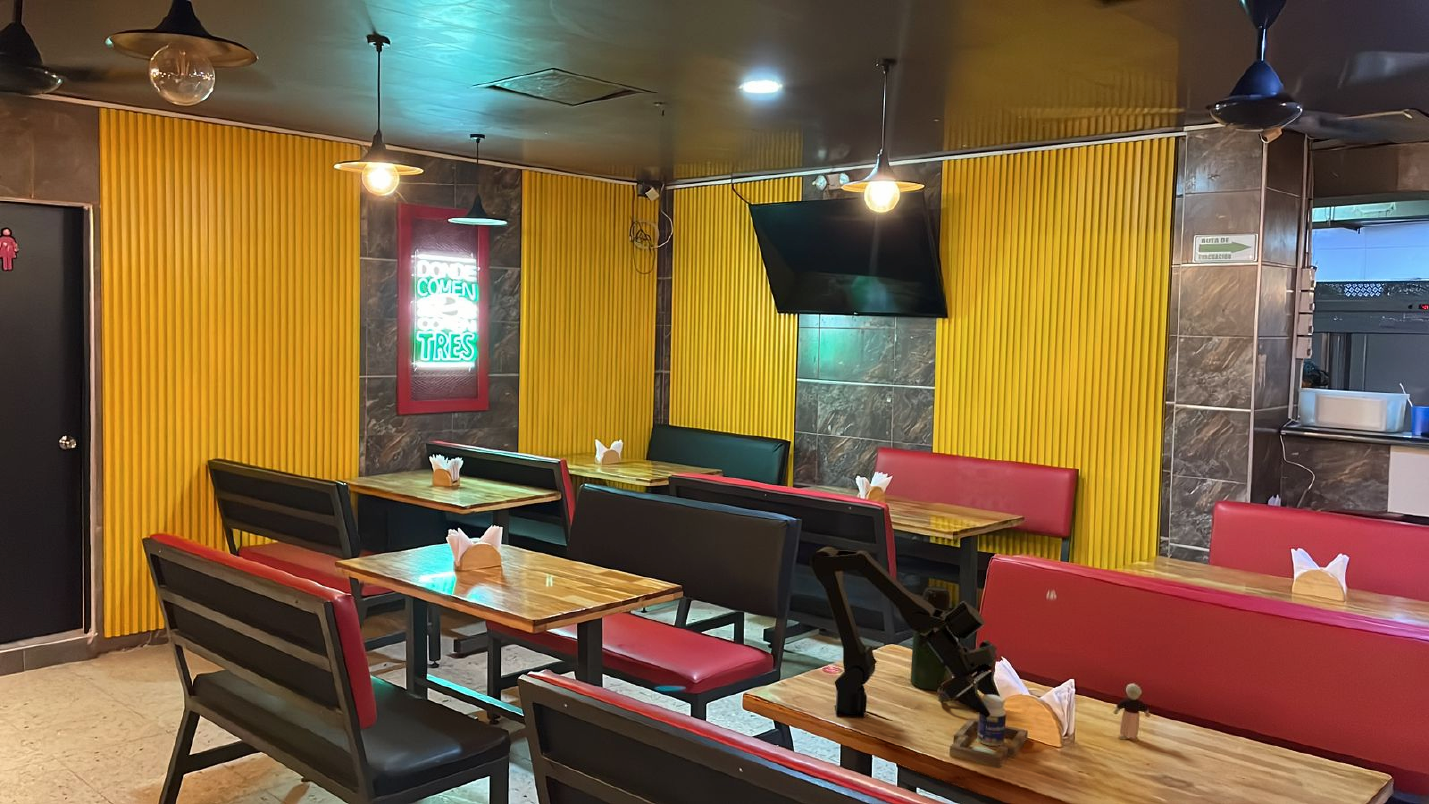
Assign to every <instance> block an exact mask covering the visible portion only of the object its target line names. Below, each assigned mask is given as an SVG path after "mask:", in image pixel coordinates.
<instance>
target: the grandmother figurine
mask: <svg viewBox="0 0 1429 804" xmlns="http://www.w3.org/2000/svg"><path fill="white" fill-rule="evenodd" d="M1125 690H1126V694H1127V697H1124V698H1123V699H1121V700H1120V701H1119V702H1118V703H1117V704H1116V707H1115V708H1114V710H1113V712H1112V713H1113V714H1114V715H1118V714H1119V712H1120V711H1121V710H1122V709H1123V712H1122V716H1121V720H1120V721H1121V722H1120V727H1119V734H1118V735H1117V739H1120V740H1127V739H1129V740H1130V741H1133V742H1139V741H1138V740H1139V737H1138V735H1139V729H1140V728H1139V727H1140V711H1141V712H1143V714H1144V716H1145V718H1150V717H1151V714H1150V711H1149V707H1148V705H1147V704H1146V703H1144V702H1143V701H1142V700H1140V699H1138V698H1139V697H1140V696H1141V695H1142V693H1143V692H1142V691H1143V690H1142V689H1141V687H1140V686H1139V685H1138V684H1136V683H1129V684H1127V686H1126V688H1125Z"/></svg>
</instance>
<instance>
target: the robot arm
mask: <svg viewBox="0 0 1429 804" xmlns="http://www.w3.org/2000/svg"><path fill="white" fill-rule="evenodd" d="M809 563H810V564H809V566H810V568H811V571H812V572H813V574H814V576H815V578H816V580H817V582H818V583H819V584H820V586H822V588H823V589H824V591H825V594H826V595H825V596H826V597H827V601H828V604H829V607H830V611H831V613H832V616H833V619H834V623H835V626H836V630H837V633H838V635H839V638H840V639H839V640H840V642H841V645H842V651H843V652H842V663H843V664H842V665H843V672H842V673H841V674H840V675H839V676H838V677H837V679H836V680H834V686H835V688H836V692H835V694H836V696H835V705H834V710H835V715H836V717H841V718H842V717H845V718H863V719H864V718H865V714H866V713H867V702H868V701H867V700H868V698H867V697H868V696H867V693H866V692H865V691H866V689H865V686H864V685H865V684H866V683H868V681H869V680H870V679H871V678H872V676H873V675H874V673H875V671H876V665H877V662H878V661H877V659H876V658H875V656H874V653H873V652H874V651H873V646H872V645H870V646H867V647H866V646H865V644H864V643H863V642H862V639H861V637H860V635H859V634H860V633H859V631H858V627H857V625H856V622H855V621H856V620H855V619H854V615H853V612H852V609H851V605H850V603H849V599H848V597H847V593H846V590H845V586H844V584H843V583H844V581H843V578H844V576H843V575H844V574H843V572H845V571H858V572H859V573H860V574H861V575H862V576H863V577H865V579H866V580H867V581H869V582H870V583H871V584H872V585H873V586H874V587H875V588H876V589H877V590H878V591H880V593H881V594H883V595H884V596H885V597H886V598H887V600H888V601H890V602H891V603H892V604H893V605H894V606H895V608H897V610H898V613H899V615H900V616H901V618H902V619H903V620H904V621H905V624H906V625H908V627H909V628H910V629H911V630H912V631H913V630H914V631H916V632H924V631H927V630H928V629H929V628H933V629H931V630H930V631H929V632H928V633H926V634H923V633H921V634H919V642H918V646H919V647H921V646H923V645H924V644H926V643H928V644H929V646H930V647H931V648H932V650H933V651H934V652H935V653H936V655H937V656H938V657H939V659H940V660H941V661H942V663H941V664H940V666H941V667H942V668H944V667H946V668H947V669H948V671H949V672H950V673H951V675H952V678H954V679H952V681H953V682H952V683H950V684H949V685H948V686H946V687H945V694H946V696H947V697H948V698H949V700H951V699H952V698H954V697H955V696H957V697H955V699H954V701H955V703H956V702H957V703H960V704H962V705H963V706H965V707H967V708H969V709H971V710H973V711H975V713H976V712H978V713H977V714H979V713H980V714H981V715H983V716H985V717H988V716H990V712H989V711H988V709H987V707H986V705H985V704H984V702H983V698H981V696H980V693H981V694H983V696H984V695H997V696H1000V697H1001V695H1000V692H999V690H998V688H997V685H996V683H995V678H994V676H995V672H996V668H994V667H995V666H996V663H995V660H997V659H999V658H998V655H997V653H996V652H997V649H998V648H997V647H995V646H994V644H993V643H991V641H989V639H986V640H983V641H982V642H980V643H979V647H977V648H975V649H972V650H971V649H970V648H969V646H966V645H964V646H962V645H961V644H960V642H959V641H958V640H957V639H959V640H960V639H963V640H966V639H968V638H970V636H971V635H973V634H974V633H976V632H977V631H979V630H980V629H981V628H982V627H983V626H985V625H986V622H985V620H984V618H983V616H982V615H981V613H980V612H979V611H978V610H977V609H976V608H974V607H973V606H972V605H970V604H969V603H968V602H967V601H966V600H963V601H961V602H959V604H958V605H957V606H956V607H955V608H954V609H952V610H951V611H950V612H949V611H948V612H946V611H943V610H939V609H936V608H934V607H933V606H932V605H931V604H930V603H928V602H927V601H925V600H924V599H923V597H921V596H919V595H916V594H914V593H912V592H911V591H909V590H908V589H906V588H905V587H904V586H903V585H902V584H901V583H900V582H899V581H898V580H897V579H895V577H894V576H892V575H891V574H890V573H889V572H888V571H887V570H886V569H885V568H884V567H882V565H880V564H879V563H878V561H877V560H875V559H874V558H873V557H872V556H871V555H870V553H869V552H868V551H866V550H856V551H855V550H848V549H847V550H845V549H841V550H838V549H836V548H835V547H832V546H824V547H823V548H820V549H819V550H817V551H816V552H814V554H813V555H811V558H810V560H809ZM945 622H946V623H947V624H945V625H944V626H943V627H942V628H940V629H938V628H939V627H940V626H941V625H943V624H944V623H945ZM947 627H948V628H949V629H948V628H947ZM950 631H951V632H950ZM953 635H954V636H955V637H954V636H953ZM973 683H974V684H973ZM979 692H980V693H979Z"/></svg>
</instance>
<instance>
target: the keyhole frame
mask: <svg viewBox="0 0 1429 804" xmlns="http://www.w3.org/2000/svg"><path fill="white" fill-rule="evenodd" d="M978 723H979V718H978V719H977V718H972V717H970V718H968V720H966V721H965V723H964V724H963V725H962V726H961V727H960V728H959V729H958V730H957V731H956V732H955V733H954V734H953V741H952V744H951V745H950V747H949V757H951V756H952V757H953V758H956V759H961V760H963V761H967V762H968V761H969V762H972V763H975V764H976V763H977V764H981V765H985V766H989V767H994V768H998V769H999V768H1000V767H1001V766H1002V765H1003V763H1004V762H1005V761H1006V759H1007V758H1009V759H1010V758H1011V759H1014V758H1015V756H1016V755H1017V754H1018V752H1019V751H1020V750H1021V748H1022V747H1023V746H1024V744H1025V743H1026V742H1027V740H1028V730H1027V729H1023V728H1018V727H1015V726H1014V727H1013V726H1008V725H1005V734H1004V738H1005V737H1006V738H1009V739H1012V740H1011V741H1010V742H1009V744H1004V743H1003V744H1002V745H1000V746H999V748H998V749H997V750H996V751H994V750H992V749H990V748H986V747H983V746H968V744H969V743H968V742H969V736H971V734H972V733H973V732H974V731H977V732H978ZM1003 761H1004V762H1003ZM1001 764H1002V765H1001Z"/></svg>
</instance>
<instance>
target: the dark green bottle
mask: <svg viewBox="0 0 1429 804" xmlns="http://www.w3.org/2000/svg"><path fill="white" fill-rule="evenodd" d="M949 592H950V591H949V590H948V589H947V588H945V587H942V586H938V585H937V586H934V585H933V586H932V585H930V586H927V587H926V588H925V589H924V591H923V595H922V599H924V600H925V601H927V602H928V603H930V604H931V605H932V606H933V607H934V608H936V609H939V610H943V611H946V612H949V608H950V603H951V602H950V601H951V596H950V593H949ZM945 624H947V623H946V622H945V623H944V624H943V625H941V626H940V627H939V628H938V629H940V628H942V627H943V626H944V625H945ZM947 628H948V627H947ZM931 629H933V628H929V629H928V630H927V631H924V632H916V631H914V630H912V631H913V633H912V634H913V635H912V651H911V665H910V683H911V684H912V685H913V686H914V687H917V688H920V689H922V690H928V691H937V689H938V688H939V687H940V688H941V690H942V687H941V684H943V683H944V682H945V681H947V680H949V679H951V678H953V676H952V675H951V673H950V672H949V671H948V669H947V668H946V667H944V668H942V667H941V666H940V664H941V663H942V661H941V660H940V659H939V657H938V656H937V655H936V653H935V652H934V651H933V650H932V648H931V647H930V646H929V644H928V643H926V644H924V645H923V646H921V647H919V646H918V642H919V634H921V633H923V634H926V633H928V632H929V631H930V630H931ZM948 629H949V628H948ZM950 632H951V631H950ZM953 636H954V635H953ZM954 637H955V636H954ZM955 638H956V637H955Z"/></svg>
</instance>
